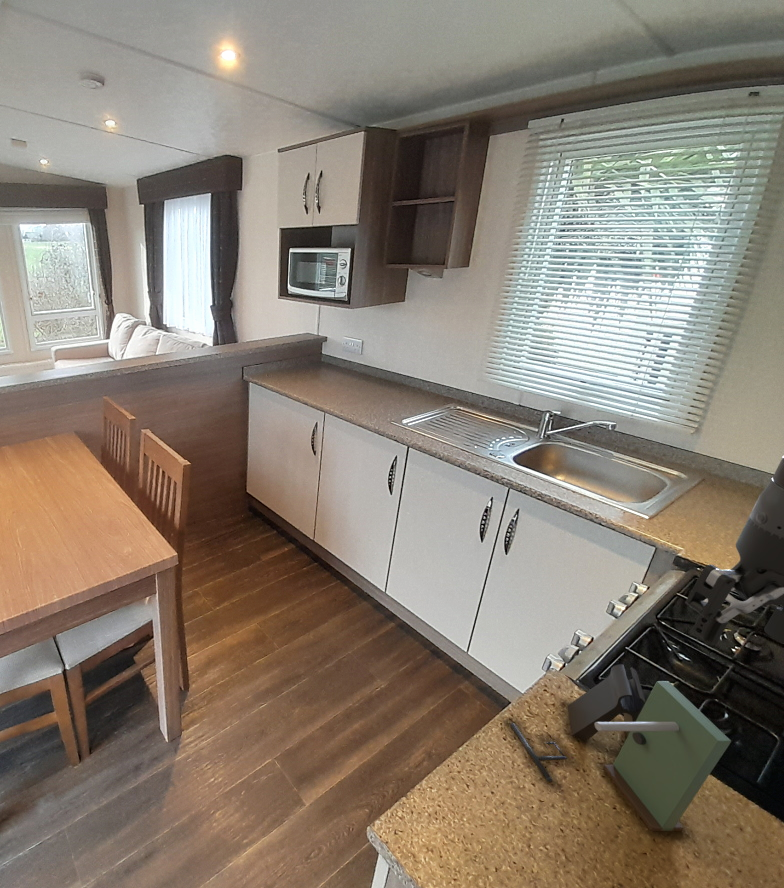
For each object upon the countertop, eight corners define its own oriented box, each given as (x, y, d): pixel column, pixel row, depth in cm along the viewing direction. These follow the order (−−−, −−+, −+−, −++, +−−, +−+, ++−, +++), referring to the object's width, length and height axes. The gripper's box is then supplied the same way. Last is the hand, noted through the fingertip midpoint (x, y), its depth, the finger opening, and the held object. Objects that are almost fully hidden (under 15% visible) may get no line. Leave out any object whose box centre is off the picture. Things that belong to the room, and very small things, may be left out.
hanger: (546, 785, 67) (583, 784, 67) (548, 781, 67) (585, 780, 67) (507, 725, 75) (540, 725, 75) (509, 721, 75) (541, 721, 75)
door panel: (680, 833, 61) (743, 741, 54) (584, 833, 62) (633, 741, 54) (629, 769, 69) (678, 680, 61) (543, 769, 69) (581, 681, 62)
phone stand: (569, 738, 73) (594, 682, 68) (566, 707, 78) (589, 653, 73) (646, 768, 69) (679, 711, 64) (638, 734, 73) (668, 679, 68)
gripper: (772, 549, 48) (709, 665, 55) (919, 544, 48) (838, 662, 54) (700, 510, 55) (652, 617, 62) (828, 505, 55) (766, 614, 61)
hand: (739, 638), depth 58 cm, fingers open, 8 cm apart
